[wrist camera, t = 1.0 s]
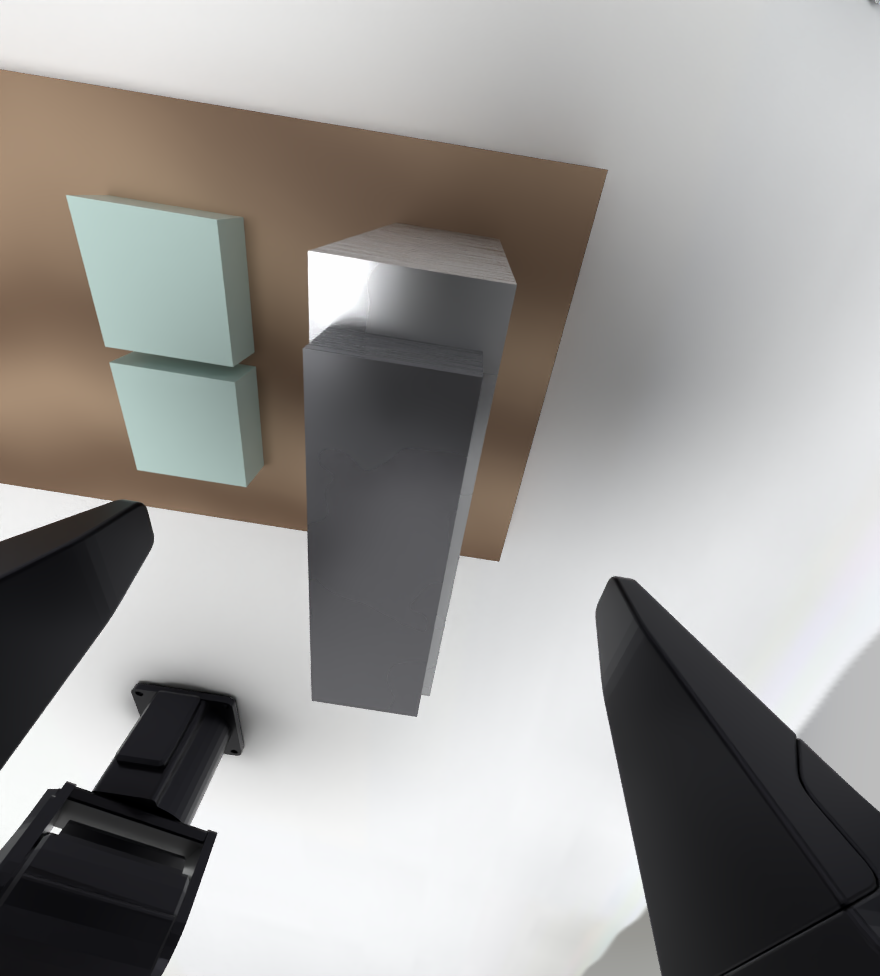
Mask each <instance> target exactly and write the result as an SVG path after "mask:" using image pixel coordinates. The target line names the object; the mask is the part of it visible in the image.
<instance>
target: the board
mask: <svg viewBox="0 0 880 976" xmlns="http://www.w3.org/2000/svg"><path fill="white" fill-rule="evenodd" d="M607 171H608V170H605V169H599V168H593V167H587V166H581V165H575V164H569V163H563V162H557V161H551V160H545V159H539V158H533V157H527V156H521V155H515V154H509V153H503V152H497V151H491V150H484V149H478V148H472V147H466V146H460V145H454V144H448V143H442V142H436V141H430V140H424V139H418V138H412V137H406V136H400V135H394V134H388V133H382V132H376V131H370V130H364V129H357V128H351V127H345V126H339V125H333V124H327V123H321V122H315V121H309V120H303V119H297V118H291V117H285V116H279V115H273V114H267V113H261V112H255V111H249V110H243V109H236V108H230V107H224V106H218V105H212V104H206V103H200V102H194V101H188V100H182V99H176V98H170V97H164V96H158V95H152V94H146V93H140V92H134V91H128V90H122V89H116V88H109V87H103V86H97V85H91V84H85V83H79V82H73V81H67V80H61V79H55V78H49V77H43V76H37V75H31V74H25V73H19V72H13V71H7V70H1V69H0V483H3V484H9V485H15V486H22V487H28V488H35V489H41V490H47V491H54V492H60V493H66V494H73V495H79V496H85V497H92V498H98V499H104V500H111V501H116V500H120V499H125V500H131V501H137V502H141V503H143V504H144V505H145V506H149V507H155V508H162V509H168V510H174V511H181V512H187V513H194V514H200V515H206V516H213V517H219V518H225V519H232V520H238V521H244V522H251V523H257V524H263V525H270V526H276V527H283V528H289V529H295V530H302V531H307V494H306V455H305V416H304V377H303V348H304V347H305V346H306V345H307V344H309V289H308V251H309V250H312V249H315V248H319V247H322V246H325V245H328V244H331V243H334V242H337V241H340V240H344V239H347V238H350V237H353V236H356V235H359V234H362V233H365V232H369V231H372V230H375V229H378V228H381V227H384V226H387V225H390V224H393V223H403V224H409V225H415V226H421V227H427V228H433V229H439V230H445V231H452V232H458V233H464V234H470V235H476V236H482V237H488V238H494V239H499V240H500V242H501V245H502V247H503V250H504V253H505V255H506V258H507V260H508V263H509V266H510V268H511V271H512V273H513V276H514V279H515V281H516V284H517V287H516V292H515V297H514V301H513V306H512V311H511V315H510V320H509V325H508V330H507V334H506V339H505V344H504V348H503V353H502V358H501V362H500V367H499V372H498V377H497V381H496V386H495V391H494V395H493V400H492V405H491V409H490V414H489V419H488V424H487V428H486V433H485V438H484V442H483V447H482V452H481V457H480V461H479V466H478V471H477V475H476V480H475V485H474V489H473V494H472V499H471V504H470V508H469V513H468V518H467V522H466V527H465V532H464V537H463V541H462V546H461V551H460V555H461V556H467V557H473V558H480V559H486V560H492V561H499V560H500V557H501V553H502V549H503V546H504V542H505V539H506V535H507V531H508V528H509V524H510V521H511V517H512V513H513V510H514V506H515V503H516V499H517V495H518V492H519V488H520V485H521V481H522V477H523V474H524V470H525V467H526V463H527V459H528V456H529V452H530V449H531V445H532V441H533V438H534V434H535V431H536V427H537V423H538V420H539V416H540V412H541V409H542V405H543V402H544V398H545V394H546V391H547V387H548V384H549V380H550V376H551V373H552V369H553V366H554V362H555V358H556V355H557V351H558V348H559V344H560V340H561V337H562V333H563V330H564V326H565V322H566V319H567V315H568V312H569V308H570V304H571V301H572V297H573V294H574V290H575V286H576V283H577V279H578V276H579V272H580V268H581V265H582V261H583V258H584V254H585V250H586V247H587V243H588V240H589V236H590V232H591V229H592V225H593V222H594V218H595V214H596V211H597V207H598V204H599V200H600V196H601V193H602V189H603V186H604V182H605V178H606V175H607ZM66 195H111V196H117V197H123V198H129V199H135V200H141V201H147V202H153V203H160V204H166V205H172V206H178V207H184V208H190V209H196V210H202V211H209V212H215V213H221V214H227V215H233V216H239V217H243V220H244V231H245V243H246V255H247V267H248V279H249V291H250V303H251V315H252V327H253V339H254V351H255V352H254V353H253V354H251V355H250V356H248V357H247V358H246V359H244V360H243V361H241V362H240V363H238V364H243V365H249V366H255V367H256V375H257V387H258V399H259V411H260V423H261V435H262V447H263V459H264V466H263V467H262V469H261V470H260V471H259V472H258V474H257V475H256V476H255V477H254V479H253V480H252V481H251V482H250V483H249V485H248V486H247V487H242V486H235V485H229V484H223V483H216V482H210V481H204V480H197V479H191V478H185V477H178V476H172V475H166V474H159V473H153V472H147V471H140V470H137V467H136V463H135V459H134V455H133V452H132V448H131V444H130V440H129V436H128V432H127V428H126V425H125V421H124V417H123V413H122V409H121V405H120V402H119V398H118V394H117V390H116V386H115V382H114V378H113V375H112V371H111V367H110V363H109V362H111V361H113V360H116V359H118V358H120V357H122V356H125V355H127V354H129V353H131V352H134V351H130V350H123V349H117V348H111V347H105V344H104V340H103V336H102V332H101V328H100V325H99V321H98V317H97V313H96V309H95V305H94V302H93V298H92V294H91V290H90V286H89V282H88V278H87V275H86V271H85V267H84V263H83V259H82V255H81V251H80V248H79V244H78V240H77V236H76V232H75V228H74V225H73V221H72V217H71V213H70V209H69V205H68V201H67V198H66Z"/></svg>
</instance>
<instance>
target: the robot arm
mask: <svg viewBox="0 0 880 976" xmlns="http://www.w3.org/2000/svg"><path fill="white" fill-rule="evenodd" d="M153 543H154V534H153V530H152V526H151V522H150V518H149V514H148V510H147V508H146V506H145V505H144V504H143V503H141V502H137V501H131V500H125V499H120V500H116V501H113V502H110V503H107V504H104V505H102V506H99V507H96V508H93V509H90V510H88V511H85V512H82V513H79V514H76V515H74V516H71V517H68V518H65V519H62V520H60V521H57V522H54V523H51V524H48V525H45V526H43V527H40V528H37V529H34V530H31V531H29V532H26V533H23V534H20V535H17V536H15V537H12V538H9V539H6V540H3V541H1V542H0V770H1V769H2V768H3V766H4V765H5V764H6V762H7V761H8V759H9V758H10V757H11V755H12V754H13V753H14V751H15V750H16V748H17V747H18V746H19V744H20V743H21V741H22V740H23V739H24V737H25V736H26V735H27V733H28V732H29V730H30V729H31V728H32V726H33V725H34V724H35V722H36V721H37V719H38V718H39V717H40V715H41V714H42V713H43V711H44V710H45V708H46V707H47V706H48V704H49V703H50V702H51V700H52V699H53V697H54V696H55V695H56V693H57V692H58V691H59V689H60V688H61V686H62V685H63V684H64V682H65V681H66V679H67V678H68V677H69V675H70V674H71V673H72V671H73V670H74V668H75V667H76V666H77V664H78V663H79V662H80V660H81V659H82V657H83V656H84V655H85V653H86V652H87V651H88V649H89V648H90V646H91V645H92V644H93V642H94V641H95V640H96V638H97V637H98V635H99V634H100V633H101V631H102V630H103V628H104V627H105V626H106V624H107V623H108V621H109V620H110V618H111V617H112V615H113V614H114V612H115V611H116V609H117V607H118V606H119V604H120V602H121V601H122V599H123V597H124V595H125V594H126V592H127V590H128V589H129V587H130V585H131V583H132V582H133V580H134V578H135V576H136V575H137V573H138V571H139V569H140V568H141V566H142V564H143V563H144V561H145V559H146V557H147V556H148V554H149V552H150V550H151V548H152V546H153ZM596 628H597V639H598V649H599V660H600V671H601V681H602V689H603V696H604V701H605V706H606V711H607V716H608V721H609V725H610V730H611V735H612V740H613V745H614V749H615V754H616V759H617V764H618V769H619V773H620V778H621V783H622V788H623V793H624V797H625V802H626V807H627V812H628V817H629V821H630V826H631V831H632V836H633V841H634V845H635V850H636V855H637V860H638V865H639V869H640V874H641V879H642V884H643V889H644V893H645V898H646V903H647V908H648V913H649V917H650V922H651V926H652V932H653V936H654V941H655V946H656V951H657V955H658V961H659V965H660V970H661V975H662V976H880V812H879V811H878V810H877V809H876V808H874V807H873V806H872V805H871V804H870V803H869V802H868V801H867V800H865V799H864V798H863V797H862V796H861V795H860V794H859V793H858V792H857V791H855V790H854V789H853V788H852V787H851V786H850V785H849V784H848V783H847V782H846V781H845V780H844V779H843V778H841V777H840V776H839V775H838V774H837V773H836V772H835V771H834V770H833V769H832V768H831V767H830V766H829V765H827V763H825V762H824V761H823V760H822V759H821V758H820V757H819V756H818V755H817V754H816V753H815V752H814V751H813V750H812V749H811V748H810V747H808V745H807V744H806V743H804V741H802V740H801V739H799V738H797V739H796V734H795V733H794V732H793V731H792V730H791V729H790V728H789V727H788V726H787V725H786V724H785V723H783V722H782V721H781V720H780V719H779V718H778V717H777V716H776V715H775V714H774V713H773V712H772V711H771V710H770V709H769V708H768V707H767V706H766V705H765V704H764V703H763V702H762V701H761V700H760V699H758V698H757V697H756V696H755V695H754V694H753V693H752V692H751V691H750V690H749V689H748V688H747V687H746V686H745V685H744V684H743V683H742V682H741V681H740V680H739V679H738V678H737V677H736V676H734V675H733V674H732V673H731V672H730V671H729V670H728V669H727V668H726V667H725V666H724V665H723V664H722V663H721V662H720V661H719V660H718V659H717V658H716V657H715V656H714V655H713V654H712V653H711V652H709V651H708V650H707V649H706V648H705V647H704V646H703V645H702V644H701V643H700V642H699V641H698V640H697V639H696V638H695V637H694V636H693V635H692V634H691V633H690V632H689V631H688V630H687V629H685V628H684V627H683V626H682V625H681V624H680V623H679V622H678V621H677V620H676V619H675V618H674V617H673V616H672V615H671V614H670V613H669V612H668V611H667V610H666V609H665V608H664V607H663V606H661V605H660V604H659V603H658V602H657V601H656V600H655V599H654V598H653V597H652V596H651V595H650V594H649V593H648V592H647V591H646V590H645V589H644V588H643V587H642V586H641V585H640V584H639V583H638V582H636V581H635V580H633V579H630V578H624V577H618V576H614V577H611V578H610V579H609V581H608V583H607V585H606V587H605V589H604V591H603V593H602V596H601V598H600V600H599V602H598V604H597V608H596ZM131 693H132V695H133V698H134V701H135V703H136V706H137V708H138V711H139V713H140V718H139V719H138V721H137V722H136V724H135V726H134V727H133V729H132V730H131V732H130V733H129V735H128V736H127V738H126V739H125V741H124V742H123V744H122V745H121V747H120V748H119V750H118V751H117V753H116V755H115V757H114V759H113V760H112V762H111V763H110V765H109V766H108V768H107V769H106V771H105V772H104V774H103V775H102V777H101V778H100V780H99V781H98V783H97V785H96V786H95V788H94V789H93V791H92V792H90V791H87V790H84V789H81V788H79V787H76V784H73V783H71V782H68V781H67V782H66V783H65V784H64V786H63V787H62V788H61V789H60V788H59V789H48V790H47V791H46V792H45V794H44V795H43V796H42V798H41V799H40V800H39V802H38V803H37V805H36V806H35V807H34V809H33V810H32V811H31V813H30V814H29V815H28V817H27V818H26V819H25V821H24V822H23V823H22V825H21V826H20V827H19V828H18V830H17V831H16V832H15V833H14V835H13V836H12V837H11V838H10V839H9V841H8V842H7V843H6V844H5V846H4V847H3V848H2V849H1V850H0V976H161V975H162V974H163V972H164V970H165V968H166V966H167V964H168V962H169V961H170V959H171V956H172V954H173V952H174V950H175V948H176V946H177V944H178V941H179V939H180V937H181V935H182V932H183V930H184V927H185V925H186V922H187V919H188V917H189V914H190V911H191V908H192V905H193V902H194V900H195V897H196V894H197V891H198V888H199V885H200V882H201V879H202V876H203V873H204V871H205V868H206V865H207V862H208V859H209V856H210V853H211V850H212V847H213V844H214V842H215V839H216V836H217V832H214V831H211V830H208V831H205V830H202V829H199V828H196V827H193V826H190V824H191V822H192V820H193V818H194V816H195V813H196V811H197V809H198V807H199V805H200V803H201V800H202V798H203V796H204V794H205V792H206V790H207V788H208V785H209V783H210V781H211V779H212V777H213V775H214V772H215V770H216V768H217V766H218V764H219V762H220V759H221V757H222V755H223V754H229V755H237V756H238V755H241V753H242V751H243V749H244V745H243V740H242V734H241V729H240V723H239V718H238V712H237V707H236V702H235V700H234V699H232V698H230V697H227V696H220V695H214V694H207V693H201V692H194V691H188V690H181V689H175V688H168V687H162V686H155V685H149V684H142V683H138V684H136V685H135V686H134V688H133V689H132V691H131ZM54 826H55V827H58V828H61V829H62V831H61V832H60V833H59V835H58V834H54V833H50V831H51V830H52V828H53V827H54Z"/></svg>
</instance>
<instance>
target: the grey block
mask: <svg viewBox="0 0 880 976" xmlns="http://www.w3.org/2000/svg"><path fill="white" fill-rule="evenodd" d="M516 287H517V284H516V281H515V279H514V276H513V273H512V271H511V268H510V266H509V263H508V260H507V258H506V255H505V253H504V250H503V247H502V245H501V242H500V240H499V239H494V238H488V237H482V236H476V235H470V234H464V233H458V232H452V231H445V230H439V229H433V228H427V227H421V226H415V225H409V224H403V223H393V224H390V225H387V226H384V227H381V228H378V229H375V230H372V231H369V232H365V233H362V234H359V235H356V236H353V237H350V238H347V239H344V240H340V241H337V242H334V243H331V244H328V245H325V246H322V247H319V248H315V249H312V250H309V251H308V289H309V344H307V345H306V346H305V347H304V348H303V377H304V416H305V455H306V494H307V532H308V571H309V610H310V648H311V687H312V701H318V702H324V703H331V704H337V705H344V706H350V707H356V708H363V709H369V710H376V711H382V712H389V713H395V714H402V715H408V716H415V717H417V714H418V708H419V703H420V698H421V695H427V696H430V692H431V687H432V682H433V678H434V673H435V668H436V664H437V659H438V654H439V649H440V645H441V640H442V635H443V631H444V626H445V621H446V616H447V612H448V607H449V602H450V598H451V593H452V588H453V584H454V579H455V574H456V569H457V565H458V560H459V555H460V551H461V546H462V541H463V537H464V532H465V527H466V522H467V518H468V513H469V508H470V504H471V499H472V494H473V489H474V485H475V480H476V475H477V471H478V466H479V461H480V457H481V452H482V447H483V442H484V438H485V433H486V428H487V424H488V419H489V414H490V409H491V405H492V400H493V395H494V391H495V386H496V381H497V377H498V372H499V367H500V362H501V358H502V353H503V348H504V344H505V339H506V334H507V330H508V325H509V320H510V315H511V311H512V306H513V301H514V297H515V292H516Z"/></svg>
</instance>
